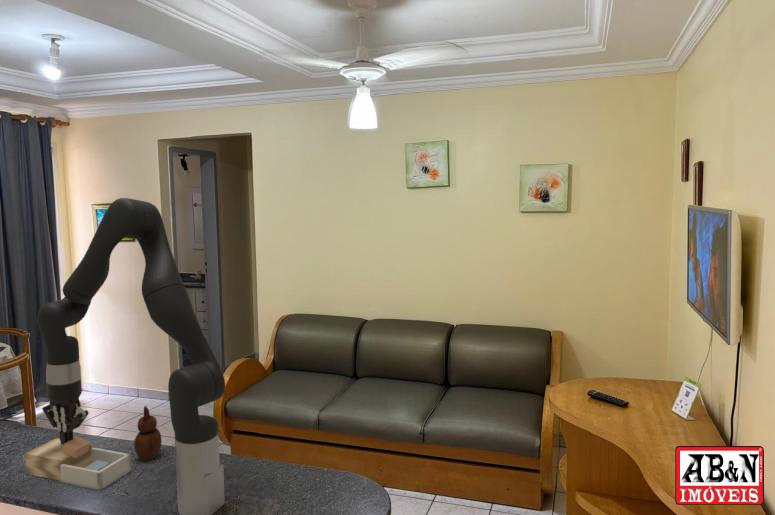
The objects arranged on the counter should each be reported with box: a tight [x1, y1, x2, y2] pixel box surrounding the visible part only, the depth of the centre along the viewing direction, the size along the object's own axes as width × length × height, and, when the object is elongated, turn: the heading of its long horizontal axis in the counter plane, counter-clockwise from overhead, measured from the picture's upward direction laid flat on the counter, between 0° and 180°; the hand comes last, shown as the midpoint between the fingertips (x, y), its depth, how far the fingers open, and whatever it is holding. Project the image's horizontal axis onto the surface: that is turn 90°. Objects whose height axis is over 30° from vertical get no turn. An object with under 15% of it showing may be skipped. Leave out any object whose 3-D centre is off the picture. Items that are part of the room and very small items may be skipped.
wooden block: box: [24, 438, 93, 482], centre depth 142 cm, size 12×9×6 cm
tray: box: [60, 447, 132, 492], centre depth 138 cm, size 12×10×4 cm
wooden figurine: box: [134, 405, 162, 461], centre depth 148 cm, size 7×6×15 cm
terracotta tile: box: [63, 436, 91, 458], centre depth 139 cm, size 4×4×2 cm
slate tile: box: [85, 460, 110, 471], centre depth 138 cm, size 4×4×2 cm
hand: (66, 443), depth 140 cm, fingers closed
